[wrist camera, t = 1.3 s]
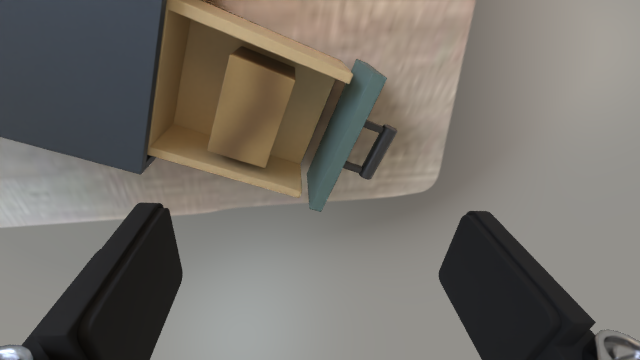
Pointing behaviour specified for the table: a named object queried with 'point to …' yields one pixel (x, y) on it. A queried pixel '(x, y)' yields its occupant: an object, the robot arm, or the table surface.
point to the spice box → (251, 106)
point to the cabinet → (81, 77)
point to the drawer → (299, 118)
